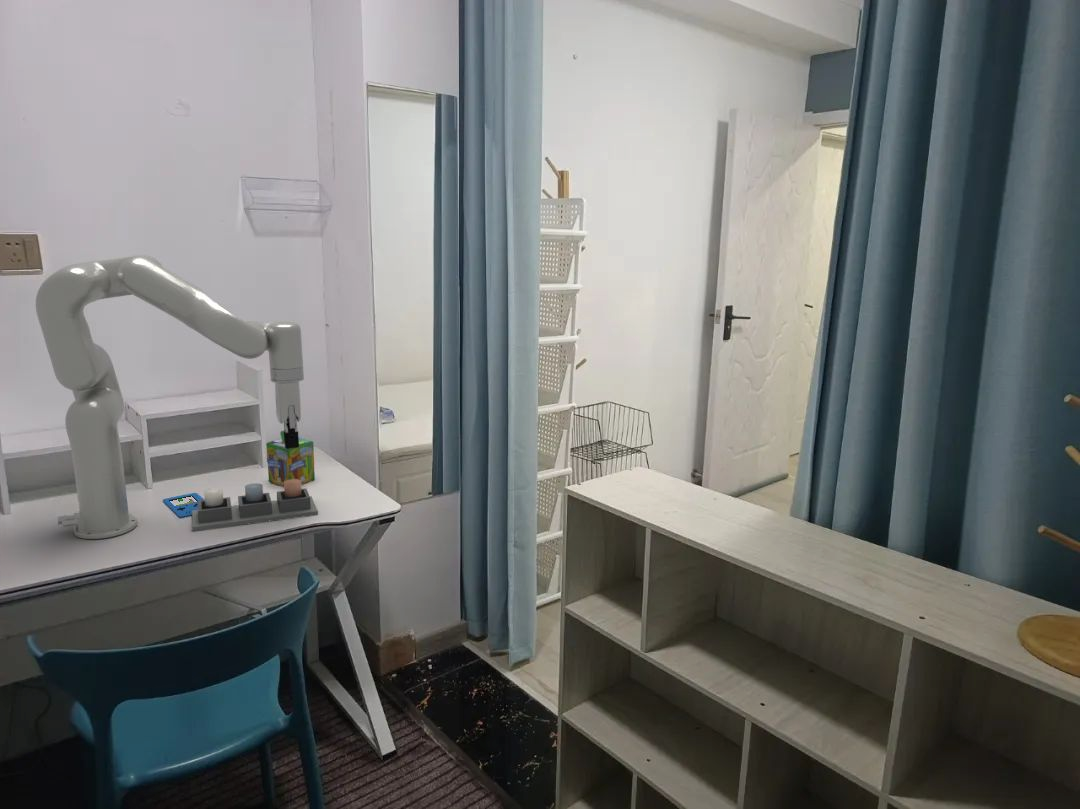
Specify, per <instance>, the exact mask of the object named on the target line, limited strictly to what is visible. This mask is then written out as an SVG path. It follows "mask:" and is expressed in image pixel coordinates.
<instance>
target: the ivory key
mask: <svg viewBox="0 0 1080 809" xmlns="http://www.w3.org/2000/svg"><path fill="white" fill-rule="evenodd" d="M203 496H204V500H205V505H206V506H218V505H221V504H223V498H224V493H223V489H222V487H211V488H210V487H209V488H206V489H205V490H204V491H203Z"/></svg>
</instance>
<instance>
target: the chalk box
mask: <svg viewBox="0 0 1080 809" xmlns="http://www.w3.org/2000/svg"><path fill="white" fill-rule="evenodd" d="M279 434H280V437H281V438H279V439H276V440H271V441H269V442H266V444H265V445H266V456H267V458H266V459H267V460H266V461H267V472H268V473H267V474H268V475H267V476H268V483H269V482H270V483H269V484H274V485H278V486H282V487H284V482H285V481H286V480H290V479H299V480H301V485H304V484H307V483H310V482H312V481H315V479H316V478H315V454H314V453H315V452H314V451H315V450H314V441H312V440H308V439H305V438H302V437H299V447H298V448H289V449H286V448H285V443H284V429H283V430H281V431H280V433H279Z"/></svg>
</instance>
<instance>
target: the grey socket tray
mask: <svg viewBox="0 0 1080 809" xmlns="http://www.w3.org/2000/svg"><path fill="white" fill-rule="evenodd" d="M301 491H302V494H301V495H299V496H295V497H288V496H285V491H284V490H280V491H276V500H272V499H271V495H270V492H263V499H262V500H259V501H247V500H246V496H245V494H244V495H237V497H238V498H237V500H238V504H237V505H236V504H235V505H232V504H231V503H232V502H231V497H230V496H229V497H223V504H221V505H218V506H206V505H205V499H204V500H201V501H198V510H192V516H191V518H192V519H191V520H192V522H191V530H192V532H198V531H197V530H199V531H205V530H204V529H206V530H213V528H214V529H221V528H228V527H237V526H243V525H242V524H244V525H249V524H248V523H252V524H256V523H255V522H260V523H263V522H262V521H267V522H272V521H271V520H275V521H280V520H279V519H282V520H287V519H286V518H290V519H295V518H294V517H298V518H303V517H302V516H305V517H310V515H313V516H318V515H319V510H318V509H317V506H316V503H315V501H314V498H313V496H312V495H311V496H310V494H309V491H308V489H307V488H306V487H305V488H301ZM269 520H270V521H269ZM236 525H237V526H236Z"/></svg>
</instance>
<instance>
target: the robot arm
mask: <svg viewBox="0 0 1080 809" xmlns="http://www.w3.org/2000/svg"><path fill="white" fill-rule="evenodd" d="M131 295H133V296H135V297H137V299H138V298H139V299H140V300H142V301H144V302H146V304H147V303H148V304H150V305H151V306H153V307H155V308H156V309H158V310H160V311H162V312H164V313H166V314H167V315H168V316H171V317H173V318H174V319H176V320H178V321H179V322H181V323H183V324H184V325H185V326H187V327H189V328H190V329H192V330H194V331H195V332H197V333H198V334H200V335H201V336H203V337H205V338H207V339H208V340H210V342H213V343H214V344H216V345H217V346H219V347H221V348H223V349H225V350H227V351H229V352H230V353H232V354H234V355H236V356H238V357H241V358H242V359H243V358H244V359H248V360H251V359H257V358H259V357H261V356H262V355H263V354H264V353H265V351H267V352H268V357H269V358H268V359H269V361H268V362H269V371H270V372H269V373H270V374H269V375H270V376H269V377H270V382H272V383H274V384H275V385H274V388H275V390H274V391H275V392H274V393H275V394H274V395H275V408H276V410H275V412H276V418H277V420H278V422H279V423H280V424H283V430H284V443H285V448H286V449H289V448H298V447H299V438H300V437H299V431H298V423H300V422H301V420H302V419H301V417H302V413H301V393H300V392H301V390H300V389H301V388H300V382H302V381H304V380H305V378H304V360H303V344H302V343H303V342H302V330H301V326H300V325H299V323H297V322H294V321H293V322H292V321H277V322H261V321H260V322H259V321H244V320H243V319H242V318H239V317H238V316H236V315H234V314H233V313H231V312H230V311H228V310H226V309H225V308H223V306H221V305H219V304H218V303H217V302H216V301H215V300H214V299H213V298H212V297H211V296H210V295H209V294H208V293H207V292H206V291H205V290H203V289H202V288H200V287H198V286H196V285H194V283H192V282H190V281H188V280H186V279H185V278H183V277H181V276H179V275H178V274H176V273H175V272H172V271H171V270H169V269H168V268H165V267H164V266H163V265H162V263H161V262H159V260H157V259H156V258H155V257H152V256H150V255H148V254H147V255H146V254H137V255H132V256H125V257H119V258H113V259H112V258H111V259H104V260H94V261H87V262H86V261H85V262H80V263H75V264H70V265H67V266H65V267H61V268H60V269H59V270H57V271H55V272H53V273H52V274H51V275H49V276H48V277H47V278H46V279H45V280H44V281H43V282H42V283H41V285H40V287H39V289H38V291H37V294H36V297H35V311H36V315H37V319H38V322H39V326H40V329H41V331H42V336H43V338H44V343H45V346H46V349H47V352H48V356H49V359H50V361H51V365H52V370H53V373H54V376H55V378H56V380H57V381H58V383H59V384H60V385H62V386H63V387H64V388H65V389H68V390H70V391H72V393H73V396H74V401H72V403H71V404H70V405H69V407H68V408H67V410H66V414H65V419H64V420H65V424H64V425H65V431H66V434H67V438H68V441H69V446H70V449H71V450H70V452H71V456H72V465H73V471H74V479H75V488H76V495H77V501H78V502H77V503H78V510H79V511H78V512H75V513H74V514H72V515H68V514H67V515H66V514H65V515H58V516H57V526H59V525H60V526H61V525H62V527H63V528H65V527H70V526H71V527H72V526H73V534H74V536H75V537H76V538H77V537H78V538H80V539H84V540H85V539H86V540H97V539H98V540H99V539H107V538H112V537H113V538H114V537H117V536H120V535H123V534H126V533H128V532H130V531H132V530H134V528H136V527H137V525H138V518H137V517H136V516H134V515H132V514H130V513H129V507H128V506H129V505H128V496H127V487H126V478H125V469H124V461H123V452H122V445H121V440H120V436H119V431H118V430H119V429H118V423H119V421H120V419H121V418H122V415H124V414H123V413H124V410H125V402H124V398H123V394H122V391H121V387H120V384H119V381H118V378H117V375H116V371H115V367H114V364H113V361H112V359H111V357H110V355H109V353H108V352H107V351H106V349H104V348H103V346H100V345H99V344H97V343H94V340H93V337H92V334H91V331H90V327H89V324H88V321H87V319H86V317H85V314H84V309H85V307H86V306H87V305H89V304H91V303H94V302H97V301H100V300H104V299H111V298H112V299H113V298H118V297H119V298H120V297H125V296H131Z"/></svg>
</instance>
